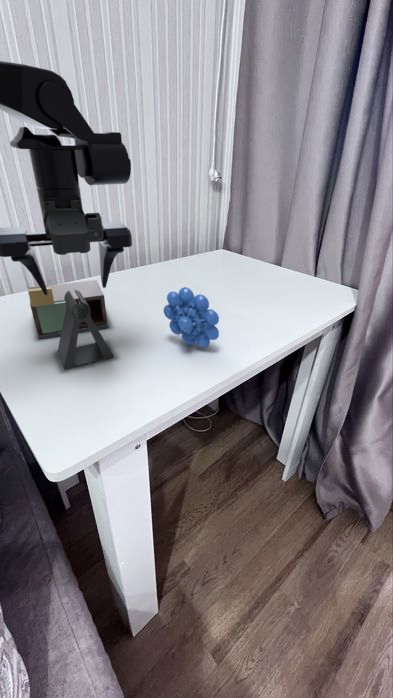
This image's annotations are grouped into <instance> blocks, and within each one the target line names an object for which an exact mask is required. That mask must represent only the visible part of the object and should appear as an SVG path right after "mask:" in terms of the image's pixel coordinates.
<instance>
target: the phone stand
mask: <svg viewBox="0 0 393 698" xmlns="http://www.w3.org/2000/svg"><path fill="white" fill-rule="evenodd" d="M75 293H76V294H77V296H78V298H79V299H80V301H79V302H78V304H77V303H76V301H75V300H74V298H73V296H72V294H71V293H70V291H68V292H66V294H65V297H64V299H65V302H66V312H65V317H64V322H63V327H62V332H61V336H59V341H58V346H57V354H58V357H59V360H60V363H61V365H62V368H63V370H64V371H67V370H70V369H75V368H80V367H83V366H87V365H88V366H89V365H90V364H91V365H92V364H97V363H99V362H103V361H107V360H112V359H114V357H115V355H114V354H113V352H112V350H111V348H110V346H108V344H107V342H106V340H105V338H104V336H103V335H102V334H101V332H100V331H99V330H100V329H99V330H98V329H97V327H96V325H95V324H94V322H93V320H92V319H91V314H90V311H91V310H90V307H89V305H88V304H87V302H86V301H85V299H84V298H83V296H82V294H81V293H80V292H79V291H78V290H75ZM82 322H86V324H87V326H88V328H89V330H90V331H89V332H90V334H91V336H92V338H93V340H94V343H90V344H86V345H81V346H77V345H78V339H79V338H78V337H79V333H78V330H79V325H80V323H82Z"/></svg>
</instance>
